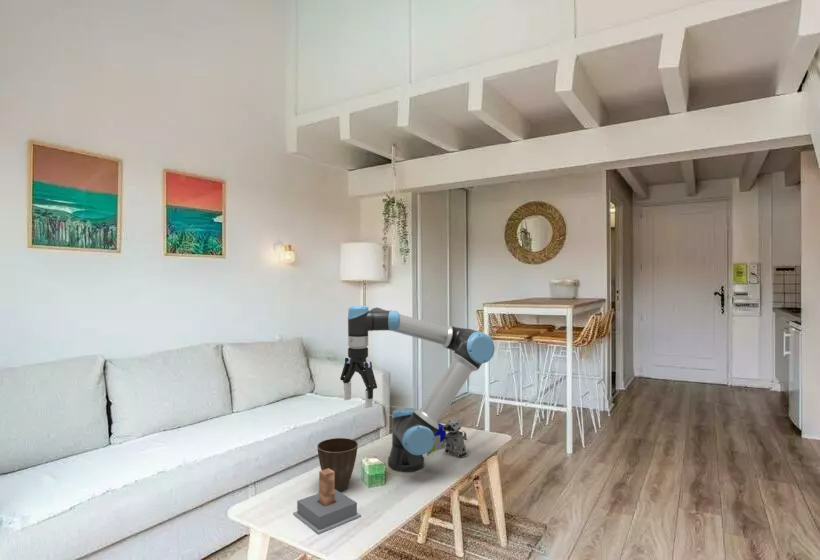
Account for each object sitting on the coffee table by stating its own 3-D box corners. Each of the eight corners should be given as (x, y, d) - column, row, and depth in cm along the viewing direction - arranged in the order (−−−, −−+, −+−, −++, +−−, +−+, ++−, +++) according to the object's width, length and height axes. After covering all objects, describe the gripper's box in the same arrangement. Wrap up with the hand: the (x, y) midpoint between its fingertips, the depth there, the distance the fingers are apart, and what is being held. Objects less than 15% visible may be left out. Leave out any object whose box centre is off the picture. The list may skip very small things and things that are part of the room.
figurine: (436, 456, 208) (436, 422, 208) (453, 449, 216) (453, 416, 216) (452, 462, 202) (452, 426, 201) (469, 454, 210) (469, 420, 209)
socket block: (334, 499, 168) (334, 486, 168) (361, 516, 156) (361, 502, 156) (293, 514, 157) (293, 500, 157) (318, 534, 146) (318, 519, 145)
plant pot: (335, 475, 188) (335, 435, 187) (365, 484, 180) (365, 442, 180) (308, 490, 175) (308, 447, 175) (340, 500, 167) (340, 455, 167)
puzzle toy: (445, 447, 218) (446, 426, 218) (428, 452, 212) (428, 430, 212) (432, 441, 226) (432, 420, 226) (415, 445, 220) (415, 424, 220)
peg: (328, 509, 159) (328, 468, 159) (334, 514, 157) (334, 471, 156) (319, 513, 157) (319, 471, 157) (325, 517, 154) (325, 474, 154)
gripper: (331, 344, 186) (331, 398, 186) (370, 352, 167) (370, 412, 167) (347, 342, 191) (347, 395, 191) (386, 350, 172) (386, 408, 172)
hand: (357, 403), depth 179 cm, fingers open, 13 cm apart
